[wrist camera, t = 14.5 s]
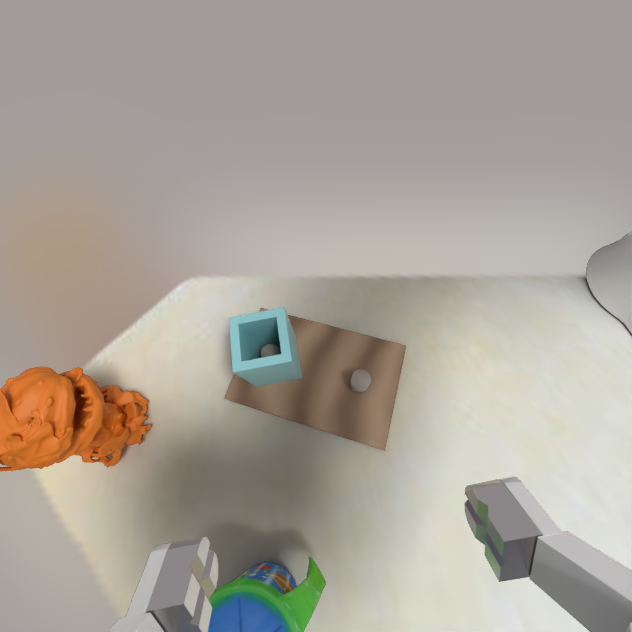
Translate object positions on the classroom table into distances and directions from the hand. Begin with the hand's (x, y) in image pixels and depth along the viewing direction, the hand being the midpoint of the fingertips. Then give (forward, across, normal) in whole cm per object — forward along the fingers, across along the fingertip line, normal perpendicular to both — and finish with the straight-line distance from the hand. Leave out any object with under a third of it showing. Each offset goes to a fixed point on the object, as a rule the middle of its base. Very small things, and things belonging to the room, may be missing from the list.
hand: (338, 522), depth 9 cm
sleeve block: (+31, +6, +11) cm, 33 cm away
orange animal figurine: (+29, +28, +16) cm, 44 cm away
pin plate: (+30, +1, +14) cm, 33 cm away
